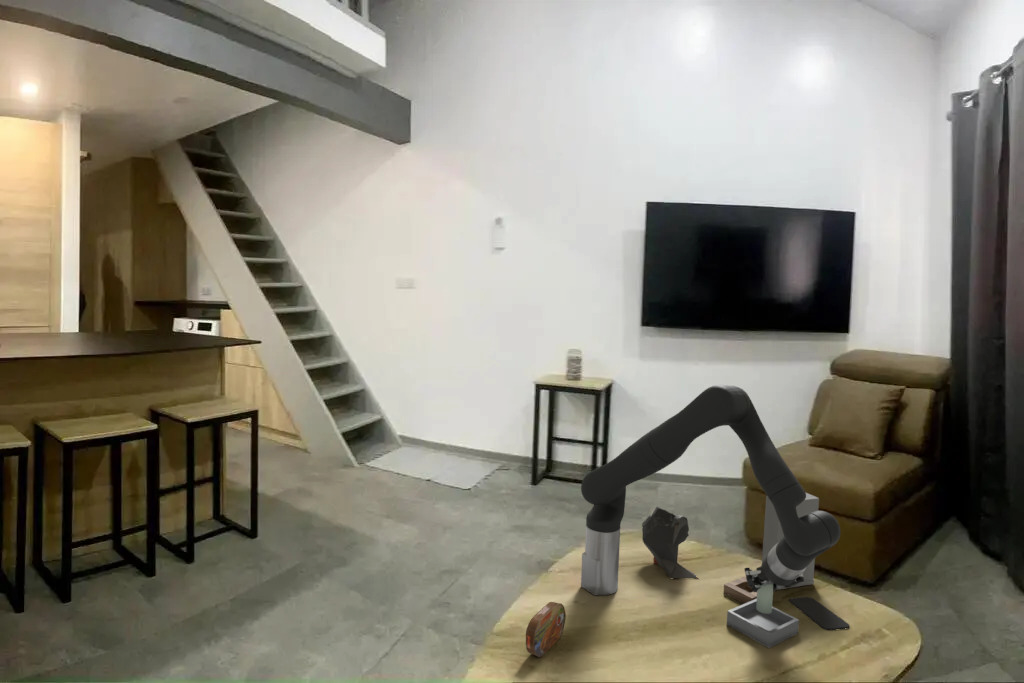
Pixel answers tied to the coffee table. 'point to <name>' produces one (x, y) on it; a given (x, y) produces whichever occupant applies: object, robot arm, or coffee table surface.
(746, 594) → the brown hollow square block
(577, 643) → the coffee table surface
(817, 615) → the phone
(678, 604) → the coffee table surface
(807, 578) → the tall grey upright box
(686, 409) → the robot arm
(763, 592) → the pale green rounded cylinder
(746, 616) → the tray
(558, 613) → the tin
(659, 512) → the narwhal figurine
